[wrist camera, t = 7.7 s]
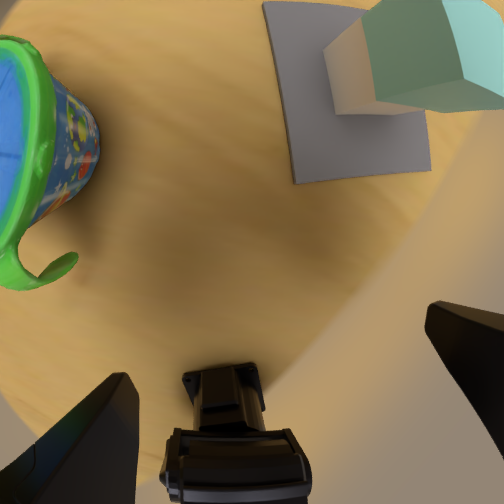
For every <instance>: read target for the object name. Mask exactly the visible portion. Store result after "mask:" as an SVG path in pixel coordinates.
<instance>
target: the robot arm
mask: <svg viewBox="0 0 504 504" xmlns="http://www.w3.org/2000/svg"><path fill="white" fill-rule="evenodd" d="M425 332H426V335H427V336H428V338H429V339H430V341H431V343H432V344H433V346H434V348H435V349H436V351H437V353H438V355H439V356H440V358H441V360H442V361H443V363H444V365H445V367H446V368H447V370H448V371H449V373H450V374H451V375H452V377H453V378H454V380H455V381H456V383H457V384H458V385H459V387H460V388H461V390H462V391H463V393H464V394H465V396H466V397H467V399H468V401H469V402H470V403H471V405H472V407H473V408H474V410H475V411H476V413H477V415H478V416H479V417H480V419H481V421H482V423H483V424H484V426H485V427H486V429H487V431H488V432H489V434H490V436H491V438H492V439H493V441H494V443H495V444H496V446H497V448H498V450H499V452H500V453H501V455H502V456H503V459H504V315H503V314H499V313H494V312H489V311H484V310H480V309H475V308H471V307H467V306H462V305H458V304H453V303H449V302H444V301H436V302H434V303H431V304H430V305H429V306H428V309H427V314H426V320H425ZM250 368H253V369H250ZM186 378H189V379H186ZM182 381H183V384H184V386H185V388H186V390H187V393H188V395H189V397H190V399H191V402H192V404H193V406H194V420H193V430H182V429H181V428H174V432H173V435H171V436H170V439H168V440H167V442H166V452H165V458H164V461H163V465H162V468H161V471H160V474H159V479H160V482H161V483H162V484H163V485H164V486H165V487H167V492H168V493H169V497H170V500H171V502H175V503H181V504H308V502H307V501H308V499H307V497H308V496H309V494H310V492H311V488H312V472H311V467H310V464H309V461H308V459H307V457H306V455H305V453H304V452H303V450H302V448H301V447H300V445H299V443H298V442H297V440H296V438H295V436H294V435H293V433H292V432H291V429H289V428H288V429H282V430H274V431H266V430H265V425H264V420H263V416H262V412H263V411H265V404H264V399H263V394H262V389H261V385H260V380H259V375H258V370H257V366H256V364H254V363H248V364H242V365H237V366H231V367H225V368H219V369H213V370H206V371H199V372H192V373H185V374H184V375H183V376H182ZM138 452H139V394H138V392H137V390H136V388H135V386H134V384H133V383H132V381H131V379H130V377H129V375H128V374H127V373H125V372H117V373H112V374H111V375H110V376H109V377H108V378H106V379H105V380H104V381H103V382H102V383H101V384H100V385H99V386H97V387H96V388H95V389H94V390H93V391H92V392H91V393H90V394H89V395H87V396H86V397H85V398H84V399H83V400H82V401H81V402H80V403H78V404H77V405H76V406H75V407H74V408H73V409H72V410H71V411H70V412H68V413H67V414H66V415H65V416H64V417H63V418H62V419H61V420H59V421H58V422H57V423H56V424H55V425H54V426H53V427H52V428H51V429H49V430H48V431H47V432H46V433H45V434H44V435H43V436H42V437H41V438H39V439H38V440H37V441H36V442H35V444H33V445H32V446H30V447H29V448H28V449H27V450H26V451H25V452H24V453H23V454H21V455H20V456H19V457H18V458H17V459H16V460H14V461H13V462H12V463H10V465H8V466H6V467H5V468H4V469H3V470H1V471H0V504H135V490H136V475H137V463H138Z"/></svg>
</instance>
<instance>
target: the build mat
mask: <svg viewBox="0 0 504 504" xmlns="http://www.w3.org/2000/svg"><path fill="white" fill-rule="evenodd" d="M262 8H263V13H264V17H265V21H266V26H267V30H268V35H269V39H270V44H271V49H272V54H273V59H274V64H275V69H276V74H277V79H278V85H279V90H280V96H281V101H282V107H283V113H284V119H285V125H286V131H287V137H288V144H289V150H290V157H291V164H292V171H293V179H294V184H302V183H310V182H317V181H325V180H333V179H342V178H351V177H360V176H370V175H381V174H393V173H405V172H420V171H431V159H430V148H429V139H428V131H427V123H426V117H425V110H421V111H414V112H408V113H403V114H397V115H373V114H344V115H336V113H335V108H334V102H333V96H332V91H331V86H330V81H329V76H328V71H327V67H326V62H325V58H324V54H323V50H324V49H325V48H326V47H327V46H328V45H329V44H330V43H331V42H332V41H333V40H335V39H336V38H337V37H338V36H339V35H340V34H341V33H342V32H344V31H345V30H346V29H347V28H348V27H349V26H350V25H352V24H353V23H354V22H355V21H356V20H358V19H359V18H360V17H361V16H363V15H364V14H365V13H367V12H368V11H369V10H364V9H358V8H352V7H346V6H339V5H330V4H320V3H308V2H283V1H268V2H263V3H262Z"/></svg>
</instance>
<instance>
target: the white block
mask: <svg viewBox="0 0 504 504" xmlns="http://www.w3.org/2000/svg"><path fill="white" fill-rule="evenodd" d="M361 17H362V16H361ZM361 17H360V18H359V19H358V20H356V21H355V22H354V23H353V24H352V25H350V26H349V27H348V28H347V29H346V30H345V31H344V32H342V33H341V34H340V35H339V36H338V37H337V38H336V39H335V40H333V41H332V42H331V43H330V44H329V45H328V46H327V47H326V48H325V49H324V50H323V54H324V58H325V62H326V67H327V71H328V76H329V81H330V86H331V91H332V96H333V102H334V108H335V113H336V115H344V114H373V115H397V114H403V113H408V112H414V111H421V110H427V109H422V108H417V107H412V106H406V105H401V104H394V103H388V102H380V101H376V97H375V90H374V83H373V76H372V70H371V64H370V59H369V53H368V48H367V43H366V39H365V34H364V30H363V25H362V21H361Z"/></svg>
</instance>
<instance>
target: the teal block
mask: <svg viewBox="0 0 504 504" xmlns="http://www.w3.org/2000/svg"><path fill="white" fill-rule="evenodd" d="M361 21H362V25H363V30H364V34H365V39H366V43H367V48H368V53H369V59H370V64H371V70H372V76H373V83H374V90H375V97H376V101H380V102H388V103H394V104H401V105H406V106H412V107H417V108H422V109H427V110H432V111H437V112H441V113H451V112H463V111H477V110H498V109H504V24H503V22H502V19H501V17H500V14H499V13H498V12H496V11H495V10H494V9H492V8H491V7H490V6H488V5H487V4H486V3H484V2H483V1H481V0H382V1H380V2H379V3H378V4H377V5H375V6H374V7H373V8H372V9H370V10H369V11H368V12H367V13H365V14H364V15H363V16H362V17H361Z"/></svg>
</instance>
